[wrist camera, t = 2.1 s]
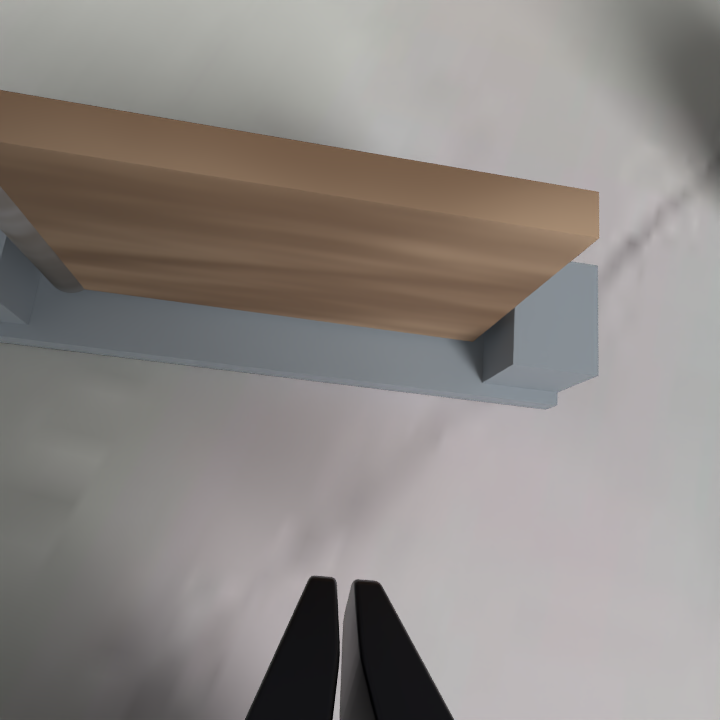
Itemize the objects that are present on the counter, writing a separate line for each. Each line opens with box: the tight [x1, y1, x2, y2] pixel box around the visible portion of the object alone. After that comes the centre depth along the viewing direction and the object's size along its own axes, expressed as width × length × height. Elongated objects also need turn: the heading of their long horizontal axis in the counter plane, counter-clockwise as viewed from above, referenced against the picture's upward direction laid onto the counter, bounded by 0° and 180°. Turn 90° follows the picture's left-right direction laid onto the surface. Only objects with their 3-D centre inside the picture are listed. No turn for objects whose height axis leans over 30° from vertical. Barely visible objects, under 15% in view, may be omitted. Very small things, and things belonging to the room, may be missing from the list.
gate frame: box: [0, 229, 598, 409], centre depth 22 cm, size 5×23×4 cm, turn 84°
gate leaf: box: [0, 90, 599, 342], centre depth 18 cm, size 2×15×9 cm, turn 84°
